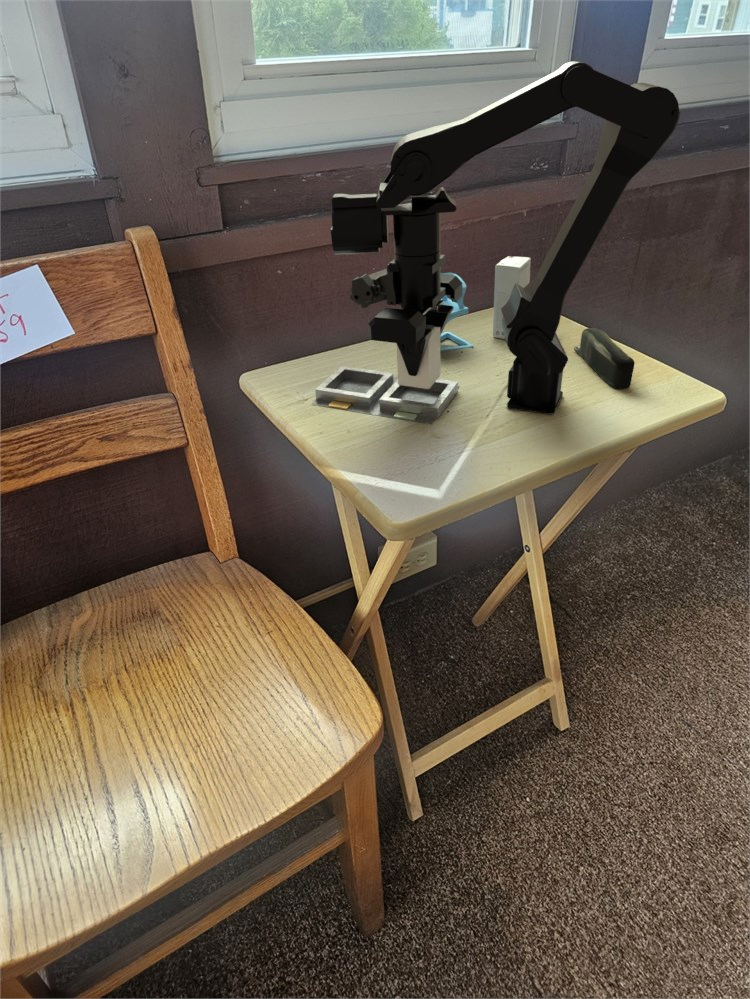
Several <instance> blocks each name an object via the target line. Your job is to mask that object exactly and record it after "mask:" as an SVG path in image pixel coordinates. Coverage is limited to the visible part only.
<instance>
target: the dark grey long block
mask: <svg viewBox="0 0 750 999" xmlns="http://www.w3.org/2000/svg"><path fill="white" fill-rule="evenodd" d="M579 344H580V345H579V347H578V346H574V347H573V350H574V352H576V353H577V354H578V355H579V354H580V355H579V356H580V357H582V359H583V360H584V359H585V360H586V363H587V365H589V366H590V367H591V368H592V369H593V370H594V371H595V372H596V373H597V375H598V376H599V377H600V378H601V379H602V380H603V381H604V382H605V383H606V384H607V385H608V386H609V385H610V386H609V387H611V388H614V389H617V390H626V389H630V388H631V385H632V378H633V373H634V369H635V360H634V359H633V358H632V357H631V356H629V354H627V353H626V352H625V351H623V349H622V348H621V347H620V346H618V345H617V344H616V343H615V342H614V341H613V340H612V339H611V337H610V336H609V335H608V334H607V333H606V332H605V331H604V330H602V329H601V330H600V329H598V328H596V327H588V328H585V329H583V331H582V333H581V336H580V343H579ZM585 360H584V361H585Z"/></svg>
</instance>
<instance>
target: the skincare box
mask: <svg viewBox="0 0 750 999" xmlns="http://www.w3.org/2000/svg"><path fill="white" fill-rule="evenodd" d="M531 261H532V260H531V257H528V256H514V255H513V256H512V255H508V256H507V257H505V258H503V259H501V260H500V261H499V262H498V263H497V264H495V267H494V293H493V296H494V297H493V317H492V318H493V319H492V320H493V321H492V322H493V324H492V325H493V326H492V336H493V338H497V339H501V340H506V338H505V335H504V332H503V328H502V318H503V315H502V312H501V308H502V307H503V306H504V305H505V304H506V303H507V302H508V300H509V298H510V295H511V292H512V289H513V287H514V285H515V283H517V284H518V285H520V286H521V287H523V288H524V287H526V286H527V285H528V284H529V283H530V282H531V281H530V280H531V263H532V262H531Z"/></svg>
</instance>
